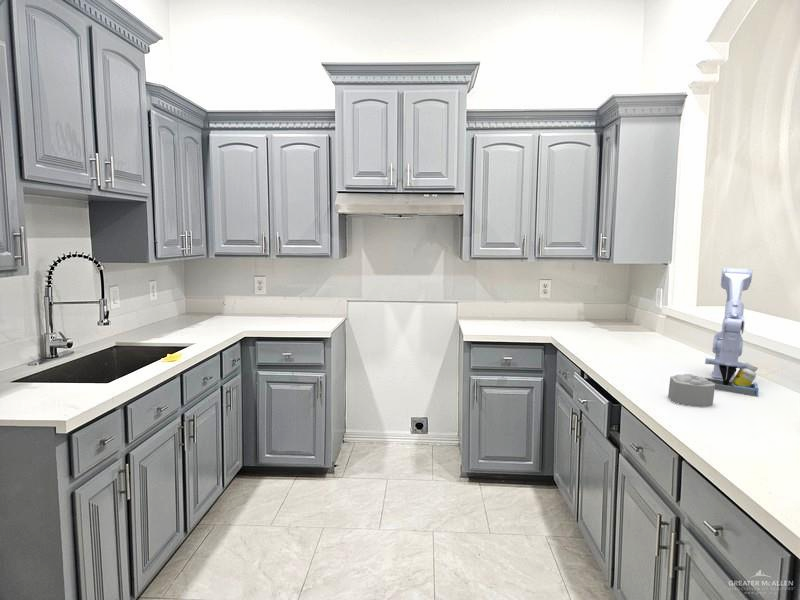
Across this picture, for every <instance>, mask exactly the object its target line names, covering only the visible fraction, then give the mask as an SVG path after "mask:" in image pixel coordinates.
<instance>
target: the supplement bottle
mask: <svg viewBox="0 0 800 600" xmlns="http://www.w3.org/2000/svg"><path fill="white" fill-rule="evenodd" d="M745 363H746V365H748V367H745V368H741V369H739V368H738V369H739V370H738V371H737V374H735V378H734V380H733V381H732V380H731V382H732V383H731V385H732V386H734V387H735V385H736V386H742V387H748V388H749V387H750V385H751V384H752V383H754V381H755V380H756V378H757V373H756V372H757V371H758V370H759V367H758V366H757V365H755V364H752V363H749V362H745ZM751 364H752V365H751Z"/></svg>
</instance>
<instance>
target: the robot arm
mask: <svg viewBox="0 0 800 600" xmlns="http://www.w3.org/2000/svg"><path fill="white" fill-rule="evenodd" d="M720 277H721V278H720V287H721V289H723V290H725V292H726V300H725V301H726V302H725V303H726V304H725V307H724V309H725V310H724V317H723V320H722V325H721V331H718V332H717V333H715V335H714V336H713V342H712V353H713V354H715V355H714V358H710V357H709V358H707V357H705V361H704V364H705V365H712V366H713V371H711V378H712V379H719V380H723V385H727V386H728V383H729V381H731V382H732V381H733V380H734V378H735V376H736V372H737V369H741V368H745V367H748V365H746V362H742V361H741V362H740V361H739V357H741V356H742V352H743V345H744V342H743V340H744V338H743V336H742V335H743V334H744V331H745V316H744V309H745V306H744V303H743V302H742V301H741V300H742V293H743V292H744V291H747V290H749V288H750V286H751V283H752V279H753V269H752V268H739V267H726V266H724V267H723V268H722V270H721V276H720ZM750 364H751V365H753V364H752V363H750Z"/></svg>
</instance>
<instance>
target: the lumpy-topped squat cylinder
mask: <svg viewBox="0 0 800 600" xmlns="http://www.w3.org/2000/svg"><path fill="white" fill-rule="evenodd" d="M685 374H686V375H684V374H675V375H672V376H670V377H669V383H668V384H669V387H668V394H667V398H669V399H670V401H671V402H672V401H673V402H672V403H674V402H675V403H674V404H677V403H679V404H678V405H681V404H684V405H683V406H688V405H690V407H697V406H699V407H698V408H706V407H712V406H713V405H714V399H715V398H714V397H715V391H716V390H715V384H714V383H713V382H711V381H708V380H707V379H706V378H707V377H706V378H704V376H699V377H695V376H696V375H694V374H692V373H685Z"/></svg>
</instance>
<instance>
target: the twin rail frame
mask: <svg viewBox="0 0 800 600" xmlns="http://www.w3.org/2000/svg"><path fill="white" fill-rule="evenodd" d="M686 374H687V373H684V374H683V375H686ZM694 376H695V377H700V376H699V375H694ZM703 377H704V376H703ZM704 378H706V379H707V380H708V381H711V382H713V383H714V384H715V391H716V390H717V391H720V392H721V391H722V392H728V393H734V394H740V395H747V396H751V397H758V394H759V386H758V383H757V382H754V381H753V382H752V384H751V385H750V387H749V388H748V387H742V386H736V385H735V387H734V386H732V385H731V383H732V380H730V381H729V383H728V386H727V385H723V379H720V378H713V377H704Z"/></svg>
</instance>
